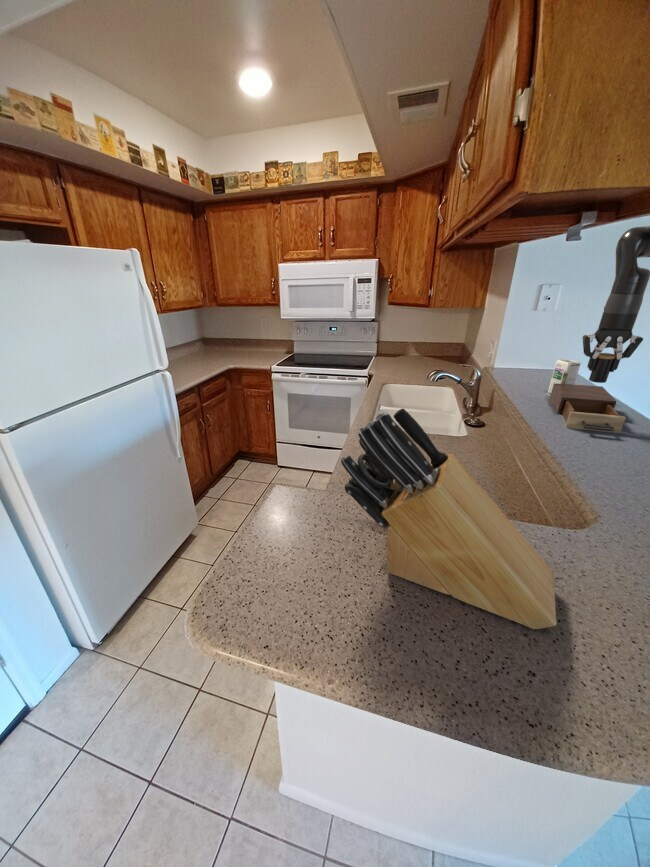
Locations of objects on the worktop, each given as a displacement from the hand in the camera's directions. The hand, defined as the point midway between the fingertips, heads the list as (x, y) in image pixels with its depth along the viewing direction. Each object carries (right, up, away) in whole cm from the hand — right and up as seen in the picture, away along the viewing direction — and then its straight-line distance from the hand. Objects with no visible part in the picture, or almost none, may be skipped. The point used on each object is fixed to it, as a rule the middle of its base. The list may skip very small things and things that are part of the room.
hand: (601, 370), depth 98 cm
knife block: (-62, -44, -37) cm, 85 cm away
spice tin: (0, -3, +1) cm, 3 cm away
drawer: (+1, -17, +7) cm, 18 cm away
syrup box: (+10, -5, +32) cm, 34 cm away
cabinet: (+7, -11, +19) cm, 23 cm away
